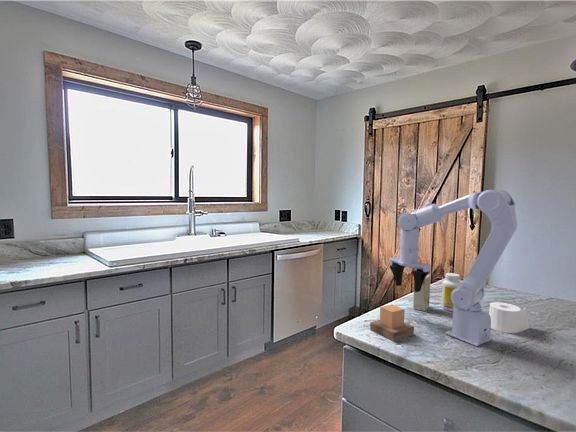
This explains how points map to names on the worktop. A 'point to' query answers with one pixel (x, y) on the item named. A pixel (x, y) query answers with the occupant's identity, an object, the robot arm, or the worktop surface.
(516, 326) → the toilet paper
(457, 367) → the worktop surface
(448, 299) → the supplement bottle
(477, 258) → the robot arm
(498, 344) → the worktop surface
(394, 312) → the orange cube
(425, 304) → the skincare box
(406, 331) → the walnut block
